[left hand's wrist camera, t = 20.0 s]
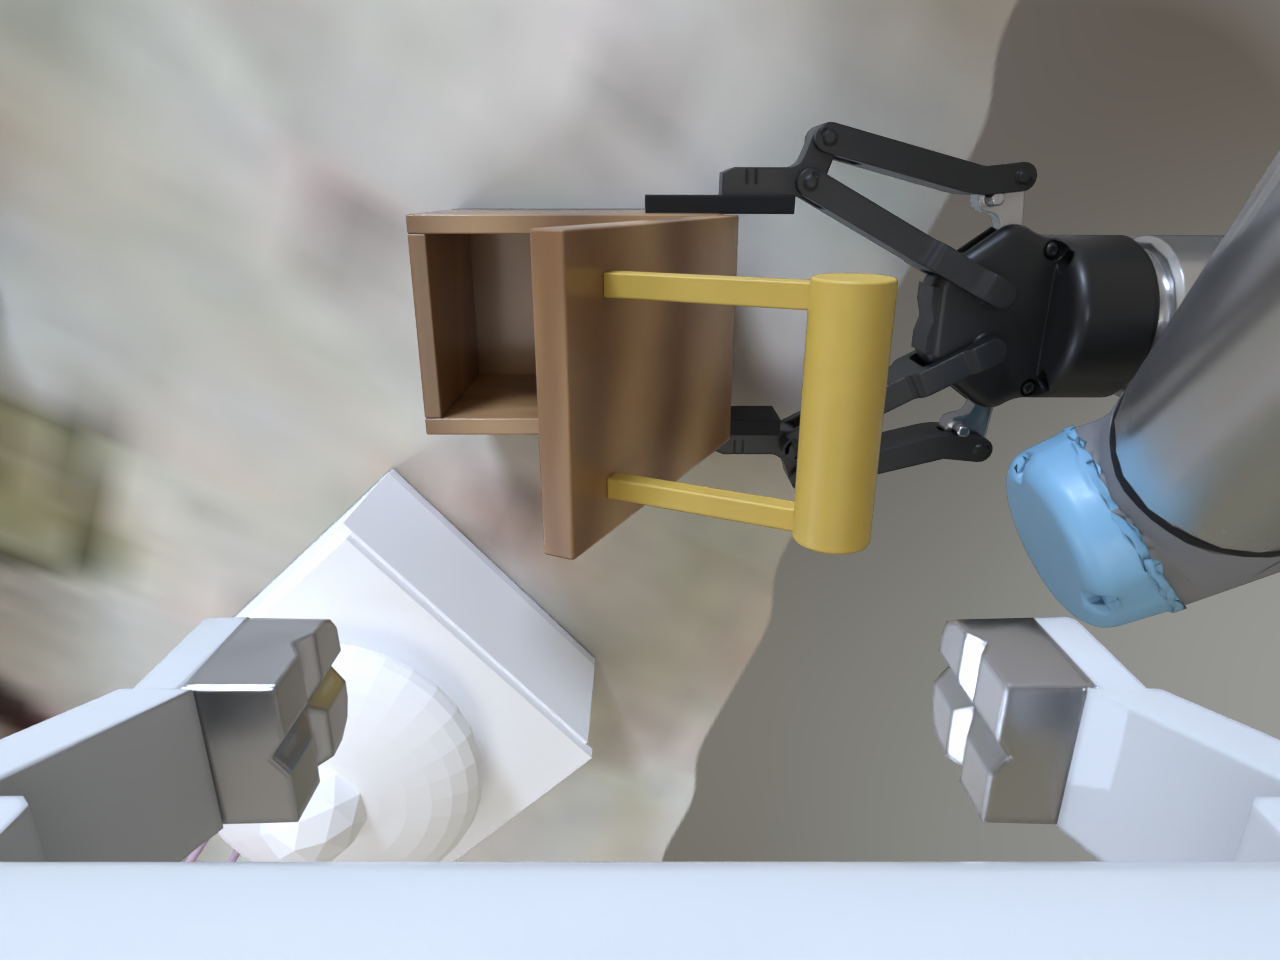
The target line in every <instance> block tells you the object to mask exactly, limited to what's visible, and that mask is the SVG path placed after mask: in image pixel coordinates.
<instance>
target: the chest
mask: <svg viewBox="0 0 1280 960" xmlns="http://www.w3.org/2000/svg"><path fill="white" fill-rule="evenodd" d="M707 215H724V214H720V213H645V209H452V210H445V211H435V212H426V213H416V214H407V215H406V223H407V232H408V243H409V253H410V264H411V274H412V285H413V295H414V306H415V316H416V327H417V338H418V348H419V359H420V369H421V380H422V390H423V401H424V411H425V418H426V419H425V422H426V432H427V434H539V425H538V403H537V381H536V358H535V336H534V314H533V292H532V270H531V247H530V230H531V229H533V228H543V227H556V226H570V225H584V224H597V223H611V222H625V221H638V220H652V219H666V218H679V217H693V216H707Z"/></svg>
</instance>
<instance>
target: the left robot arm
mask: <svg viewBox="0 0 1280 960" xmlns="http://www.w3.org/2000/svg"><path fill="white" fill-rule="evenodd" d="M340 651H341V647H340V642H339V637H338V631H337V627H336V626H335V625H334V623H333V622H332V621H331V620H330V619H292V618H249V617H227V618H210V619H204V620H203V621H202V622H201V623H200V624H199V625H198V626H197V627H196V628H195V629H194V630H193V631H192V632H191V633H190V634H189V635H188V636H187V637H186V638H185V639H184V640H183V641H181V642H180V643H179V644H178V645H177V646H176V647H175V648H174V649H173V650H172V651H171V652H170V653H169V654H168V655H167V656H166V657H165V658H164V659H163V660H162V661H161V662H160V663H159V664H158V665H157V666H156V667H155V668H154V669H153V670H152V671H151V672H150V673H149V674H148V675H147V676H146V677H145V678H143V679H142V680H141V681H140V682H139V683H138V684H137V685H136V686H135V687H134V688H133V689H118V690H116V691H113V692H111V693H108V694H106V695H104V696H101V697H99V698H97V699H94V700H92V701H90V702H87V703H85V704H83V705H80V706H78V707H76V708H73V709H71V710H69V711H66V712H64V713H62V714H59V715H57V716H55V717H52V718H50V719H47V720H45V721H43V722H40V723H38V724H36V725H33V726H31V727H29V728H26V729H24V730H22V731H19V732H17V733H15V734H12V735H10V736H8V737H5V738H3V739H1V740H0V960H1280V740H1279V739H1277V738H1274V737H1272V736H1270V735H1267V734H1265V733H1263V732H1260V731H1258V730H1256V729H1253V728H1251V727H1249V726H1246V725H1244V724H1242V723H1239V722H1237V721H1235V720H1232V719H1230V718H1228V717H1225V716H1223V715H1221V714H1218V713H1216V712H1214V711H1211V710H1209V709H1207V708H1204V707H1202V706H1200V705H1197V704H1195V703H1193V702H1190V701H1188V700H1185V699H1183V698H1181V697H1179V696H1176V695H1174V694H1172V693H1169V692H1167V691H1164V690H1162V689H1147V688H1146V687H1145V686H1144V685H1143V684H1142V683H1141V682H1140V681H1139V680H1138V679H1137V678H1136V677H1135V676H1134V675H1132V674H1131V673H1130V672H1129V671H1128V670H1127V669H1126V668H1125V667H1124V666H1123V665H1122V664H1121V663H1120V662H1119V661H1118V660H1117V659H1116V658H1115V657H1114V656H1113V655H1112V654H1111V653H1110V652H1109V651H1108V650H1107V649H1106V648H1105V647H1104V646H1103V645H1102V644H1101V643H1100V642H1099V641H1098V640H1097V639H1096V638H1095V637H1094V636H1093V635H1092V634H1091V633H1090V632H1089V631H1087V630H1086V629H1085V628H1084V627H1083V626H1082V625H1081V624H1080V623H1079V622H1078V621H1077V620H1075V619H1072V618H1069V617H1049V618H1006V619H965V620H951V621H947V622H946V624H945V627H944V629H943V631H942V635H941V641H940V647H939V651H940V653H941V654H942V656H943V658H944V659H945V661H946V662H947V664H948V667H947V668H946V669H945V670H944V671H943V672H942V673H941V675H940V676H939V677H938V678H937V679H936V680H935V681H934V689H933V698H932V711H933V722H934V728H935V731H936V735H937V738H938V741H939V743H940V745H941V747H942V749H943V751H944V753H945V755H946V756H947V757H948V758H950V759H952V760H953V761H955V762H956V763H958V764H959V765H961V766H962V770H961V777H960V783H961V785H962V786H963V788H964V790H965V792H966V794H967V796H968V797H969V799H970V801H971V803H972V805H973V806H974V808H975V810H976V812H977V814H978V816H979V817H980V819H981V821H982V822H993V823H1029V824H1057V828H1058V829H1059V830H1060V831H1061V832H1063V833H1064V834H1065V835H1067V836H1068V837H1069V838H1070V839H1072V840H1073V841H1074V842H1076V843H1077V844H1078V845H1080V846H1081V847H1082V848H1083V849H1085V850H1086V851H1087V852H1089V853H1090V854H1091V855H1092V856H1094V857H1095V858H1096V859H1098V860H1099V861H1100V862H180V861H181V860H183V859H184V858H185V857H187V856H188V855H189V854H190V853H192V852H193V851H194V850H196V849H197V848H198V847H200V846H201V845H202V844H203V843H205V842H206V841H207V840H209V839H210V838H211V837H212V836H214V835H215V834H216V833H218V832H219V831H220V830H221V829H223V824H251V823H286V822H298V821H299V819H300V818H301V816H302V814H303V812H304V810H305V809H306V807H307V805H308V803H309V801H310V799H311V798H312V796H313V794H314V792H315V790H316V788H317V787H318V785H319V783H320V777H319V770H318V766H319V765H321V764H322V763H324V762H325V761H327V760H328V759H330V758H332V757H333V756H334V755H335V753H336V751H337V749H338V747H339V745H340V743H341V741H342V739H343V735H344V730H345V726H346V722H347V717H348V695H347V688H346V681H345V680H344V679H343V678H342V677H341V676H340V674H339V673H338V672H337V671H336V670H335V669H334V668H333V667H332V664H333V662H334V661H335V659H336V658H337V656H338V654H339V653H340Z"/></svg>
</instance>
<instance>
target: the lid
mask: <svg viewBox="0 0 1280 960" xmlns="http://www.w3.org/2000/svg"><path fill="white" fill-rule="evenodd" d="M737 243H738V216H737V215H707V216H693V217H679V218H666V219H652V220H638V221H625V222H611V223H597V224H584V225H570V226H556V227H543V228H533V229H531V230H530V247H531V270H532V292H533V314H534V336H535V358H536V381H537V403H538V425H539V447H540V470H541V492H542V514H543V536H544V553H545V554H547V555H552V556H556V557H561V558H566V559H570V560H574V559H576V558H577V557H578V556H579V555H581V554H582V553H583V552H585V551H586V550H587V549H588V548H590V547H591V546H592V545H594V544H595V543H596V542H598V541H599V540H600V539H601V538H603V537H604V536H605V535H607V534H608V533H609V532H610V531H612V530H613V529H614V528H616V527H617V526H618V525H620V524H621V523H622V522H623V521H625V520H626V519H627V518H629V517H630V516H631V515H633V514H634V513H635V512H636V511H638V510H639V509H640V508H642V507H643V506H644V505H649V506H654V507H660V508H665V509H671V510H677V511H682V512H688V513H693V514H699V515H704V516H710V517H716V518H721V519H727V520H732V521H738V522H744V523H749V524H755V525H760V526H766V527H771V528H777V529H783V530H788V531H792V536H793V538H794V540H795V541H796V542H797V543H798V544H799V545H801V546H803V547H805V548H807V549H810V550H813V551H817V552H821V553H828V554H850V553H855V552H859V551H861V550H863V549H865V548H866V547H867V546H868V545H869V543H870V537H871V527H872V518H873V509H874V499H875V490H876V481H877V472H878V462H879V453H880V444H881V434H882V425H883V416H884V406H885V397H886V388H887V379H888V369H889V360H890V351H891V341H892V332H893V323H894V314H895V304H896V295H897V286H898V281H897V279H896V278H894V277H891V276H886V275H877V274H862V273H828V274H818V275H814V276H812V277H811V279H810V280H804V279H783V278H761V277H740V276H736V268H737ZM735 306H749V307H765V308H781V309H797V310H808V316H807V330H806V344H805V358H804V372H803V386H802V401H801V415H800V429H799V443H798V457H797V471H796V485H795V499H794V501H789V500H783V499H777V498H771V497H764V496H758V495H752V494H746V493H740V492H734V491H728V490H722V489H716V488H709V487H703V486H697V485H691V484H685V483H679V482H675V481H677V480H678V479H679V478H680V477H682V476H683V475H684V474H686V473H687V472H688V471H689V470H691V469H692V468H693V467H695V466H696V465H697V464H699V463H700V462H701V461H702V460H704V459H705V458H706V457H708V456H709V455H710V454H711V453H713V452H714V451H715V450H717V449H718V448H719V447H721V446H722V445H723V444H724V443H726V442H727V441H728V440H729V439H730V418H731V393H732V368H733V343H734V318H735Z"/></svg>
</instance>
